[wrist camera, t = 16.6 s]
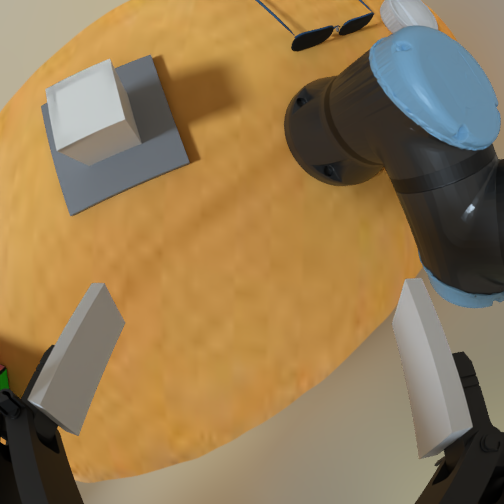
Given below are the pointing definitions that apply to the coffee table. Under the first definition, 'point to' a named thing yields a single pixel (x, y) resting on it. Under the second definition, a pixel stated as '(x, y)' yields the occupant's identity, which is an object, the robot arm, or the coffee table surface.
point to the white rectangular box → (92, 115)
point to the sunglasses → (324, 30)
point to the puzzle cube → (3, 378)
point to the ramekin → (406, 14)
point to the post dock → (129, 161)
